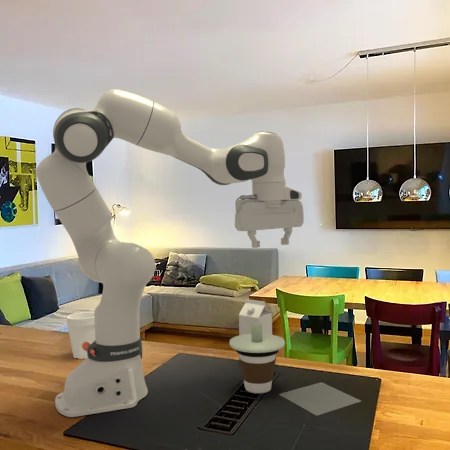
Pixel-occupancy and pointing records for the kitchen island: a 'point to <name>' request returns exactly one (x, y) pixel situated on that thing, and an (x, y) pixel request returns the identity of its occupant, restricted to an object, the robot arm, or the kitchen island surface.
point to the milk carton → (255, 317)
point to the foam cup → (81, 332)
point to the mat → (319, 398)
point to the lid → (257, 341)
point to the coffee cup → (257, 370)
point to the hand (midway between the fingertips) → (270, 246)
